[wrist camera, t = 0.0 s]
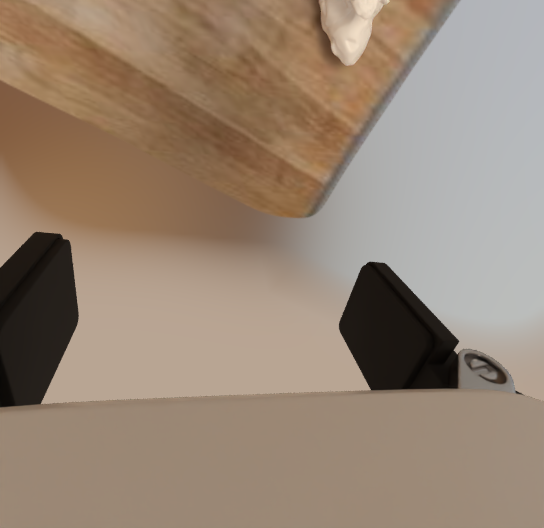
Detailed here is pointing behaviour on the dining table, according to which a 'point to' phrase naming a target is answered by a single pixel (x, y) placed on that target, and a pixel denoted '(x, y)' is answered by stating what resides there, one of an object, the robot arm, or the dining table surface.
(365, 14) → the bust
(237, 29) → the dining table surface
